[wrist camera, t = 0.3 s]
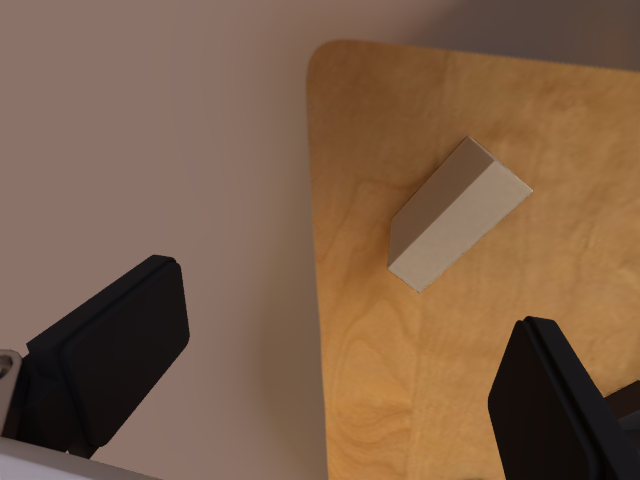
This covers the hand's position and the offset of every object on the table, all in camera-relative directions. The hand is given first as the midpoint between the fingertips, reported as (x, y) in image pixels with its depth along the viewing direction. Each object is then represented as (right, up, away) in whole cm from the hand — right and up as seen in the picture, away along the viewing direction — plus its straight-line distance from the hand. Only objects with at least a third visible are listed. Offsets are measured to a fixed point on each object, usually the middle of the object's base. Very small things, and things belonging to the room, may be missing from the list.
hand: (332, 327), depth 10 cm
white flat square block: (+8, +6, +16) cm, 19 cm away
